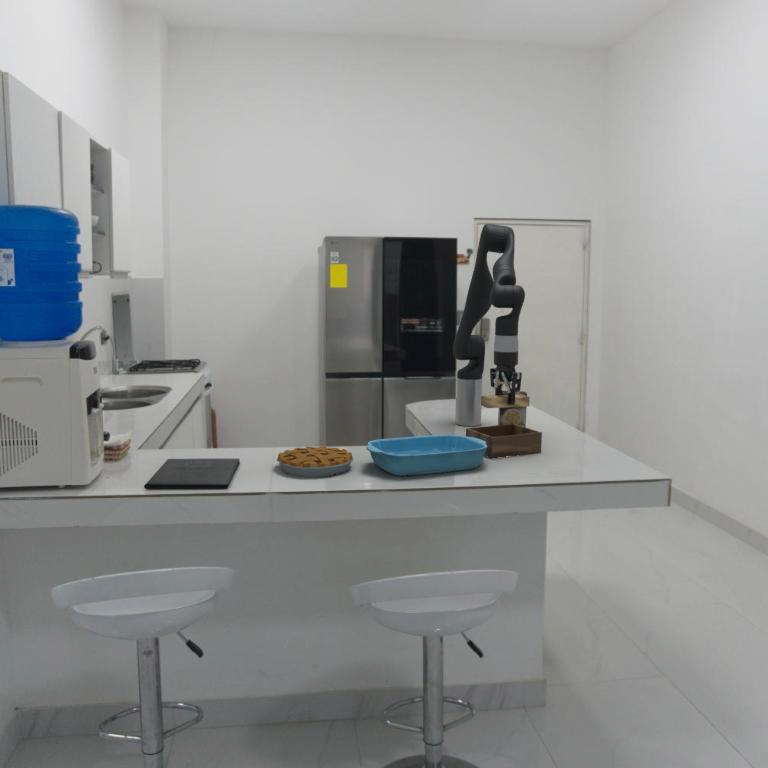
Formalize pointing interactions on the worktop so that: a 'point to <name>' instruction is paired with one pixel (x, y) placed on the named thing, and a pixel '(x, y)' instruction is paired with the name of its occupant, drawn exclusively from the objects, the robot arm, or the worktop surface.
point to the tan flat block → (504, 401)
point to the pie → (315, 461)
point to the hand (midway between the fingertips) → (504, 402)
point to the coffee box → (512, 413)
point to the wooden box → (507, 440)
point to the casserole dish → (427, 454)
